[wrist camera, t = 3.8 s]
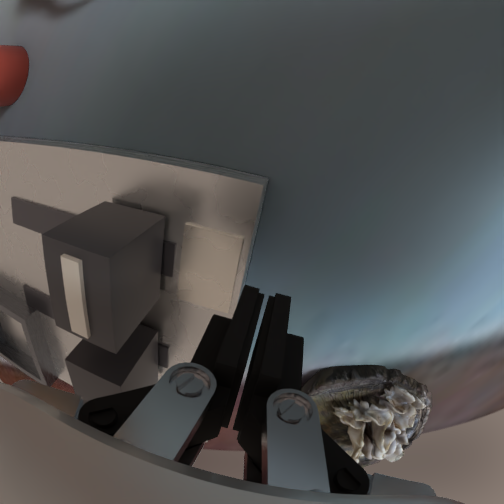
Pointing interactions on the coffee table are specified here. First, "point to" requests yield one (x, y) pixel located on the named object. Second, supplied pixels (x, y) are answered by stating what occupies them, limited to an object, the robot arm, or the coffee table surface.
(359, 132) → the coffee table surface
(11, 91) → the cap
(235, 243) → the panel
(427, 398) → the grey rough lump
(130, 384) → the breaker
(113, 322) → the block
